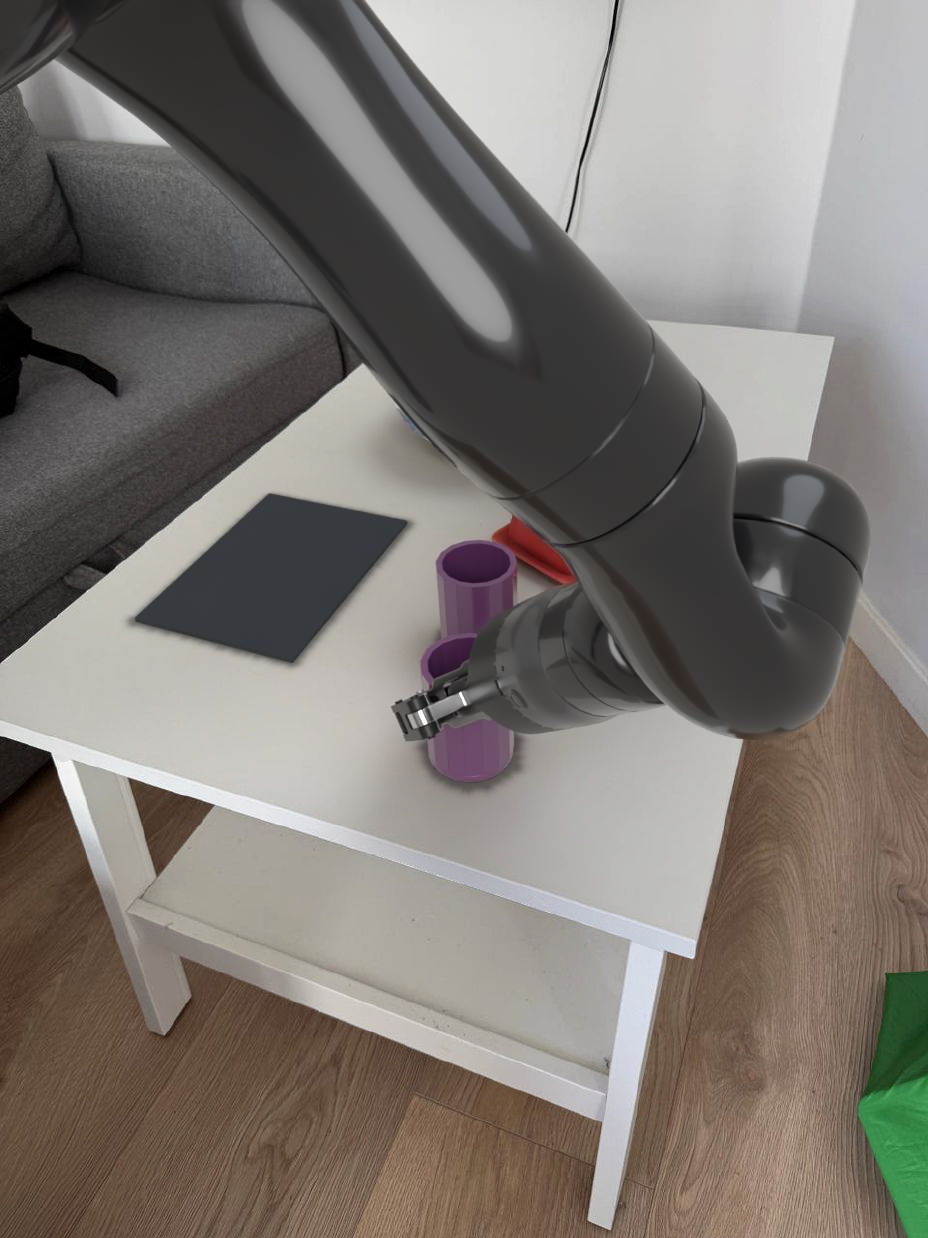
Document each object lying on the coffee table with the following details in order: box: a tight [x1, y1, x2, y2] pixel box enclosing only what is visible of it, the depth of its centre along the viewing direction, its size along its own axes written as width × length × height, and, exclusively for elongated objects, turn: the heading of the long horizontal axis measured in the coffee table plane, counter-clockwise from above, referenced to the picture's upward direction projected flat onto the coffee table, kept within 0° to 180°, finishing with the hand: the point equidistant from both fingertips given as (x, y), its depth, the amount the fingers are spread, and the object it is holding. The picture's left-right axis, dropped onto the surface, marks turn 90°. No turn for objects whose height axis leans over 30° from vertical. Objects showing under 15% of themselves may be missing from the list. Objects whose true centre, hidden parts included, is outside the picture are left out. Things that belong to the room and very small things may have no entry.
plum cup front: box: [419, 633, 515, 783], centre depth 64 cm, size 6×6×8 cm
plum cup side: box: [435, 539, 518, 639], centre depth 73 cm, size 6×6×8 cm
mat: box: [134, 492, 408, 663], centre depth 85 cm, size 22×16×1 cm
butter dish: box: [491, 514, 576, 584], centre depth 83 cm, size 12×12×8 cm
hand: (455, 693), depth 65 cm, fingers closed on plum cup front, 6 cm apart
